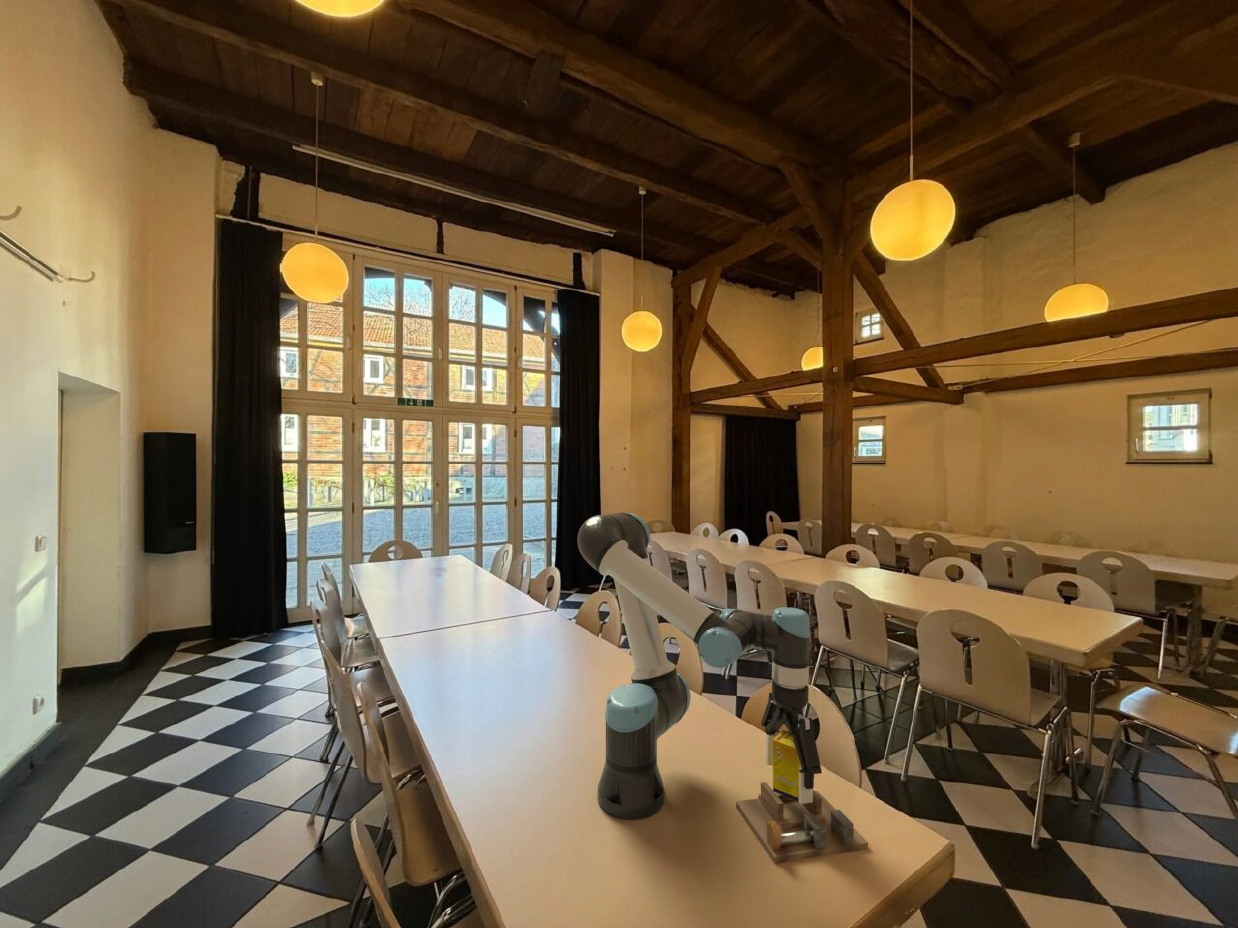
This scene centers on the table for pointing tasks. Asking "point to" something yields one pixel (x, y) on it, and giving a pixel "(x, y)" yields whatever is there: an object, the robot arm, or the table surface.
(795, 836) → the lock pin
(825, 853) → the dock
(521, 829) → the table surface
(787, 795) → the supplement box
